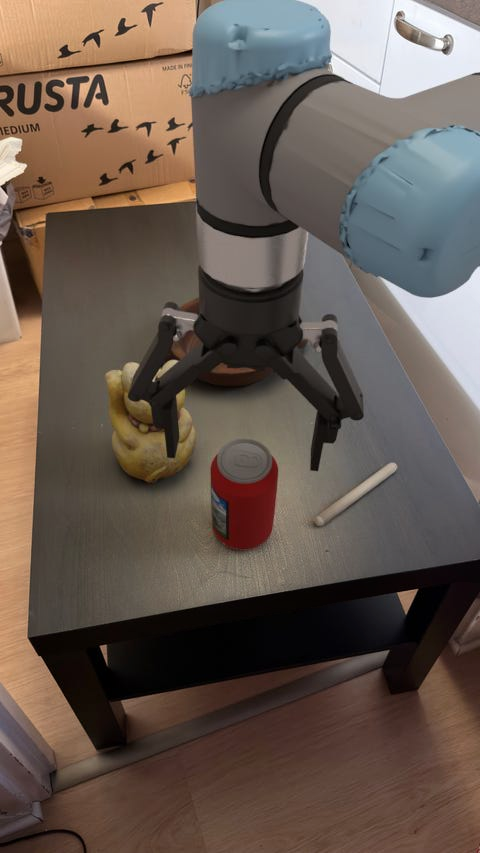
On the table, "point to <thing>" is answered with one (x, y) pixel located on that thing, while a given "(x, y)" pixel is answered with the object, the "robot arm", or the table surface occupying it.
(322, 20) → the robot arm
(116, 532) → the table surface
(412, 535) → the table surface
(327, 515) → the wooden stick
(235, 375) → the dish
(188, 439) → the decorative figurine
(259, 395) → the table surface
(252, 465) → the beverage can
